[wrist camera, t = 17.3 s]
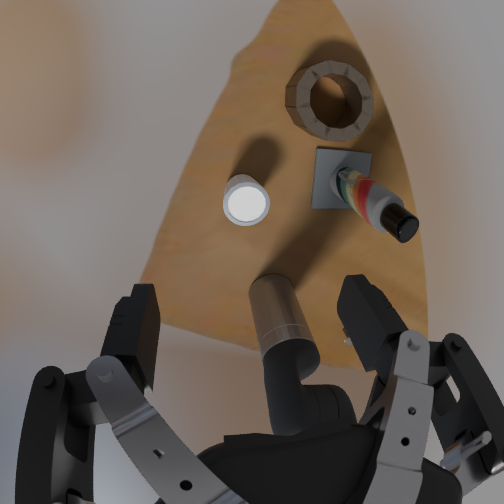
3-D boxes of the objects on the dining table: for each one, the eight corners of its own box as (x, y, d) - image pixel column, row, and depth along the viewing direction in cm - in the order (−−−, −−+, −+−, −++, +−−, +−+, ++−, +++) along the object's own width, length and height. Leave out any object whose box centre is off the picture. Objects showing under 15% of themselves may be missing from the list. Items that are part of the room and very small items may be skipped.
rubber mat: (362, 207, 50) (363, 208, 50) (310, 207, 49) (311, 208, 48) (370, 153, 45) (372, 153, 44) (316, 148, 43) (317, 148, 43)
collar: (352, 138, 43) (369, 145, 38) (283, 133, 41) (294, 138, 36) (356, 72, 36) (374, 70, 31) (286, 60, 35) (297, 55, 30)
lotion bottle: (343, 159, 44) (415, 200, 27) (362, 179, 47) (431, 227, 30) (322, 182, 46) (384, 234, 29) (342, 201, 48) (403, 258, 31)
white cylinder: (215, 178, 44) (216, 191, 38) (255, 164, 43) (262, 175, 37) (229, 214, 47) (232, 232, 41) (266, 201, 47) (275, 217, 41)
